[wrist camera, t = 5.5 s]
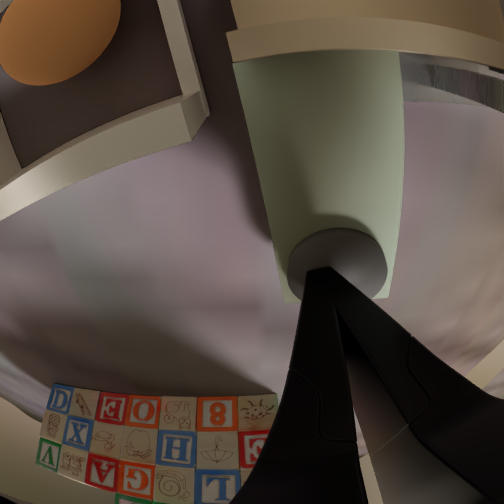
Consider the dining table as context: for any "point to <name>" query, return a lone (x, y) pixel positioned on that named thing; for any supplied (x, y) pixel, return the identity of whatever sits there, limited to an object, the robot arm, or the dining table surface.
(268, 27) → the lever
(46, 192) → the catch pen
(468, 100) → the fulcrum
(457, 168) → the dining table surface
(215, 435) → the stack of blocks
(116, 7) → the ball
